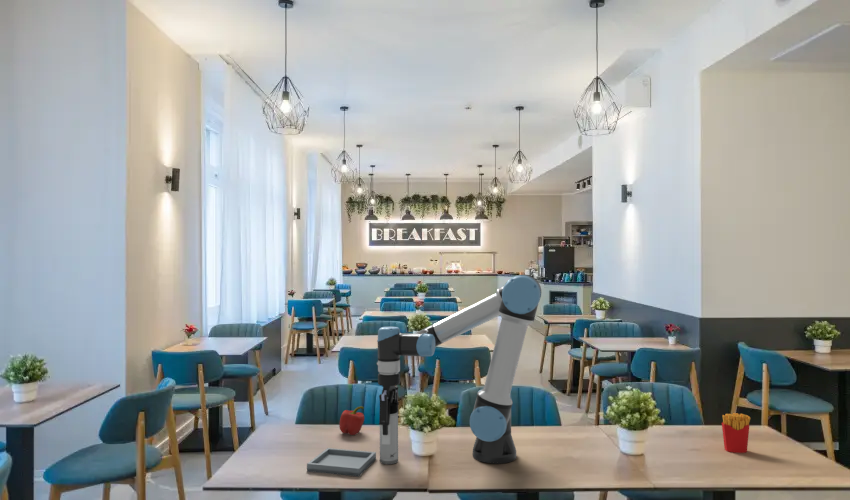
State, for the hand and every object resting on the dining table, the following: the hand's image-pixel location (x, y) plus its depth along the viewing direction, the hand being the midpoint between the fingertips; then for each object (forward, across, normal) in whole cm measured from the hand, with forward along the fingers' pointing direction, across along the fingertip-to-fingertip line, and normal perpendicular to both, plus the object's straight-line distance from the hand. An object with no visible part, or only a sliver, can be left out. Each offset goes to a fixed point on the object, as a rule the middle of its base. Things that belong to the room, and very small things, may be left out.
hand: (389, 440), depth 195 cm
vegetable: (+7, -27, -24) cm, 37 cm away
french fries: (+8, -41, +117) cm, 124 cm away
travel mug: (+7, 0, 0) cm, 7 cm away
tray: (+7, +7, -14) cm, 17 cm away
